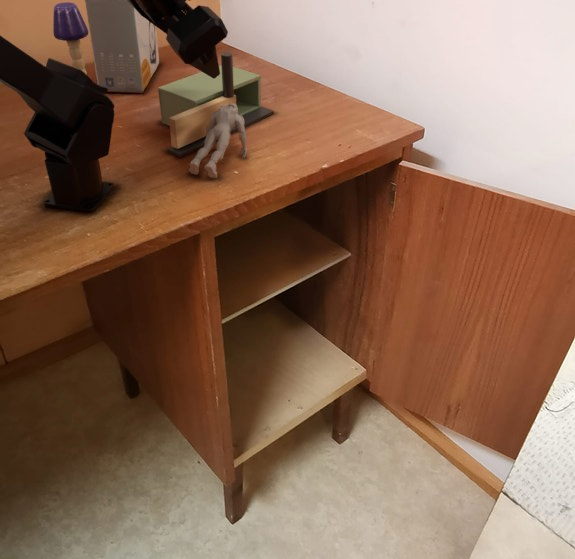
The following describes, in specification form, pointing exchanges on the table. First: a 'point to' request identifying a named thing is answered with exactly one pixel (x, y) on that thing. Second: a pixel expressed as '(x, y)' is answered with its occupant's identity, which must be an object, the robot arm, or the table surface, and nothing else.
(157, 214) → the table surface
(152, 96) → the table surface
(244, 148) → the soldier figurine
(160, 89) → the cabinet
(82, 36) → the toy lamp
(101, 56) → the hard drive box
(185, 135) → the door
